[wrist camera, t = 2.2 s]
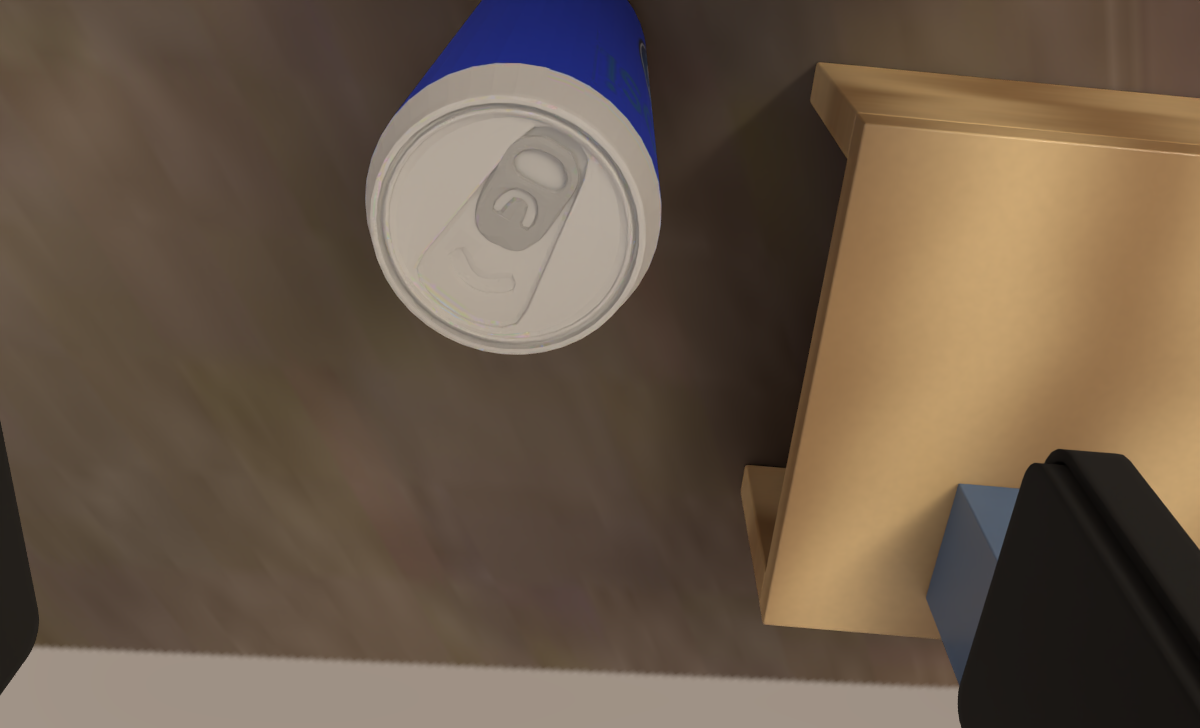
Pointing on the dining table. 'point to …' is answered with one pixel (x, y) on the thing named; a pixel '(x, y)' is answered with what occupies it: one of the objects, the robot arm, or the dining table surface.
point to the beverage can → (522, 177)
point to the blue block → (968, 565)
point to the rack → (980, 326)
